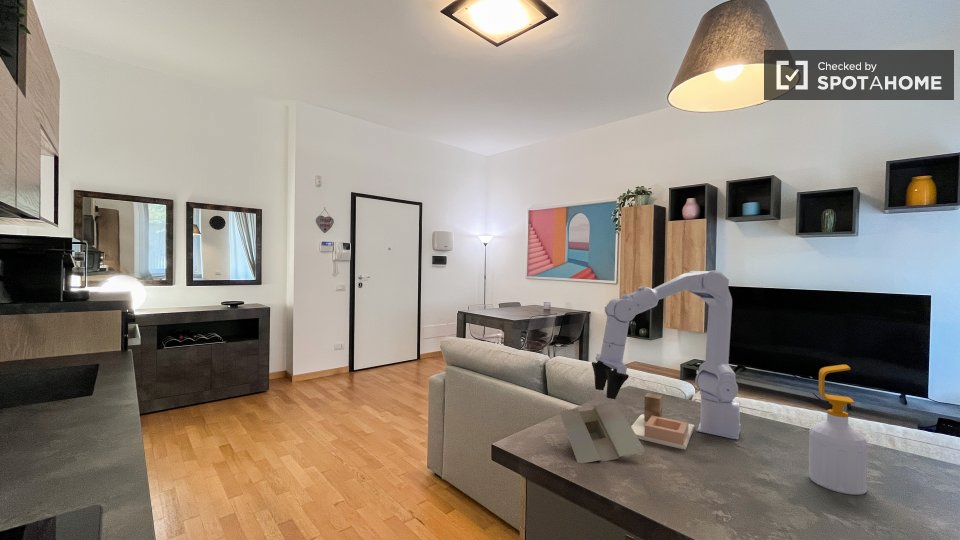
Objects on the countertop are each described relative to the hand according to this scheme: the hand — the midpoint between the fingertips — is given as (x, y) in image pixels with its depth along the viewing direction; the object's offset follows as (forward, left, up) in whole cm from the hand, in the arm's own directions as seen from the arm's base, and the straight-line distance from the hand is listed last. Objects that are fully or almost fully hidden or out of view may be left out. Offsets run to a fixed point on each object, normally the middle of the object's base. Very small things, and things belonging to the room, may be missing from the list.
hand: (604, 393), depth 109 cm
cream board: (-12, -10, -11) cm, 19 cm away
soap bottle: (-47, -2, -11) cm, 48 cm away
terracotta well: (-14, -6, -10) cm, 18 cm away
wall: (-2, +11, -11) cm, 15 cm away
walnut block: (-9, -15, -10) cm, 20 cm away
